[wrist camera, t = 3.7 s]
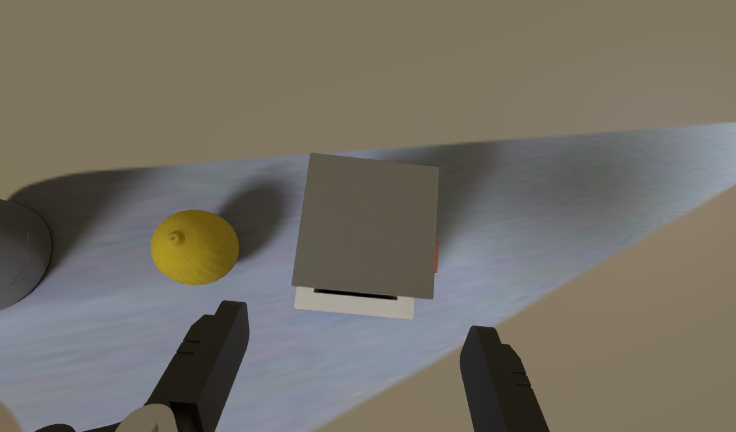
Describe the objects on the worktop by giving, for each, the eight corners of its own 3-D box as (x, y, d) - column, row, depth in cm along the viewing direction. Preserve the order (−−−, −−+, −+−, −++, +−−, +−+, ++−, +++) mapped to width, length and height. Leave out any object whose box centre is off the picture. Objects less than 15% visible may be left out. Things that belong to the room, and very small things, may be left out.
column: (323, 292, 28) (291, 285, 12) (330, 234, 29) (310, 152, 13) (382, 298, 28) (433, 299, 12) (387, 240, 29) (439, 167, 13)
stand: (304, 307, 29) (278, 313, 18) (315, 221, 31) (298, 178, 20) (401, 316, 30) (434, 328, 18) (407, 231, 31) (440, 193, 20)
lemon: (251, 222, 31) (219, 196, 23) (248, 285, 29) (213, 281, 22) (187, 223, 30) (132, 198, 22) (181, 288, 29) (121, 284, 21)
